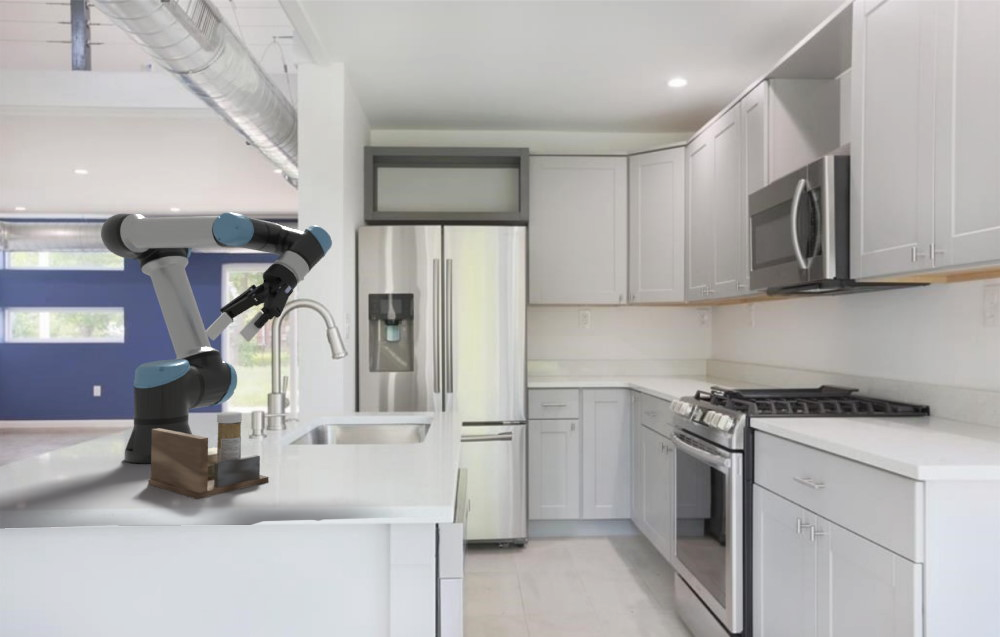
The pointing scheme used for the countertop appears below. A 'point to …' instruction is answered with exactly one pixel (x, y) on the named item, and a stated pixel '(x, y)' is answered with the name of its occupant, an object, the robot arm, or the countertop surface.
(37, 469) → the countertop surface
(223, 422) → the sprinkles bottle
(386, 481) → the countertop surface
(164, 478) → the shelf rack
